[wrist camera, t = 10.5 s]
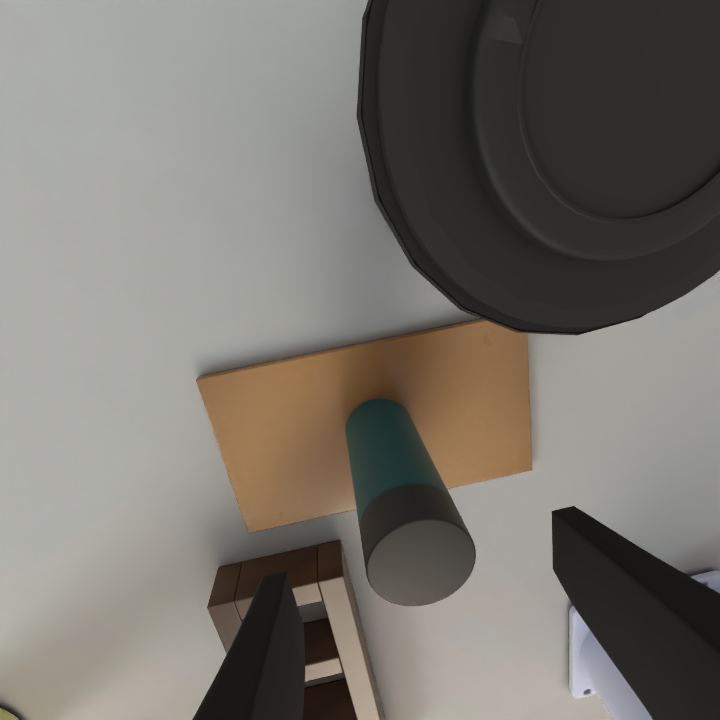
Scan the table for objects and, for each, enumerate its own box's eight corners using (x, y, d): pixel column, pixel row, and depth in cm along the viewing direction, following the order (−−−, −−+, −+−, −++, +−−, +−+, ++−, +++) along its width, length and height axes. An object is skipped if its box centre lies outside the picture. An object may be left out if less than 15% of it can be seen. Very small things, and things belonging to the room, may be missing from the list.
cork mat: (522, 310, 17) (527, 311, 17) (528, 465, 20) (532, 470, 19) (198, 376, 16) (195, 379, 16) (249, 527, 19) (248, 533, 19)
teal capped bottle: (406, 391, 17) (471, 507, 10) (415, 450, 18) (480, 592, 11) (339, 406, 17) (356, 533, 10) (352, 464, 18) (375, 617, 11)
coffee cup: (319, 48, 13) (331, -410, 4) (550, 34, 14) (1064, -387, 4) (343, 290, 16) (387, 382, 6) (536, 269, 16) (835, 326, 7)
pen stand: (340, 539, 20) (343, 575, 18) (389, 735, 25) (395, 781, 23) (218, 567, 19) (206, 607, 17) (293, 759, 25) (291, 807, 23)
